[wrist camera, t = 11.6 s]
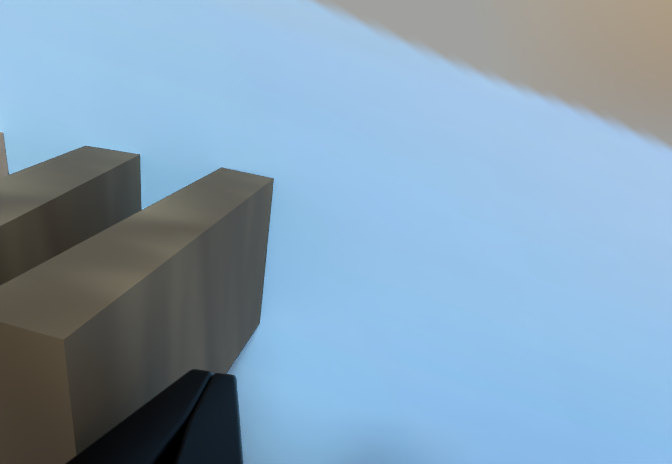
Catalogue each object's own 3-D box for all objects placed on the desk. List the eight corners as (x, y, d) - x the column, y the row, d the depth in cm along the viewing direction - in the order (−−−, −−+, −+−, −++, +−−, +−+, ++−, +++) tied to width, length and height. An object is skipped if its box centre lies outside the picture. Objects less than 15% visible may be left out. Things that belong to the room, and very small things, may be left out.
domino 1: (140, 154, 13) (-143, 300, 6) (143, 299, 15) (-65, 544, 8) (85, 145, 13) (-266, 279, 6) (96, 292, 15) (-157, 530, 8)
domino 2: (273, 178, 13) (64, 339, 6) (259, 323, 15) (90, 579, 8) (221, 167, 13) (-45, 309, 6) (214, 311, 15) (8, 549, 8)
